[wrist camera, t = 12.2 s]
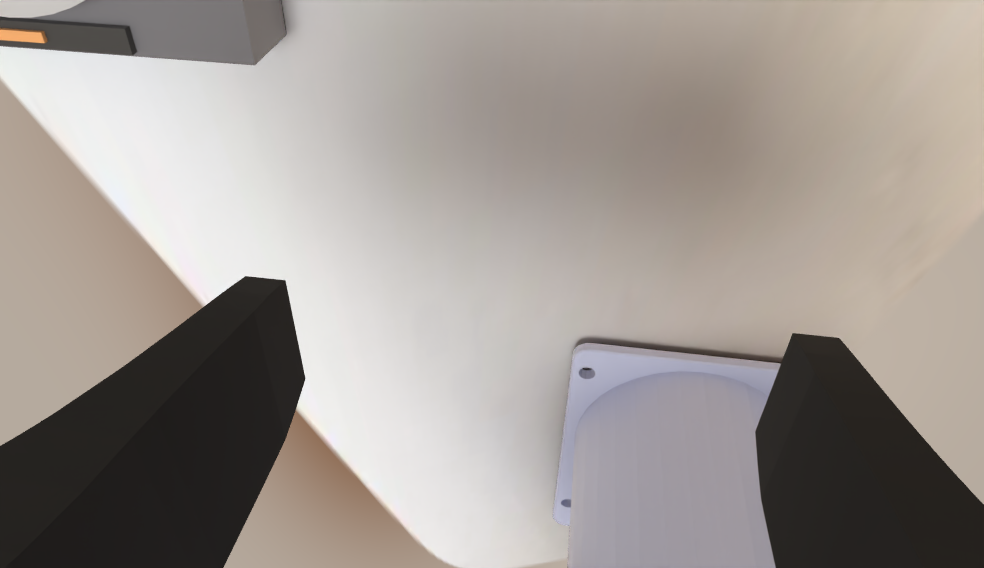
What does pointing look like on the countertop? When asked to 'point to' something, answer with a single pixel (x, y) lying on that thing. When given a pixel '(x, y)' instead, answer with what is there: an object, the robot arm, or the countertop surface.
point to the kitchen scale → (147, 27)
